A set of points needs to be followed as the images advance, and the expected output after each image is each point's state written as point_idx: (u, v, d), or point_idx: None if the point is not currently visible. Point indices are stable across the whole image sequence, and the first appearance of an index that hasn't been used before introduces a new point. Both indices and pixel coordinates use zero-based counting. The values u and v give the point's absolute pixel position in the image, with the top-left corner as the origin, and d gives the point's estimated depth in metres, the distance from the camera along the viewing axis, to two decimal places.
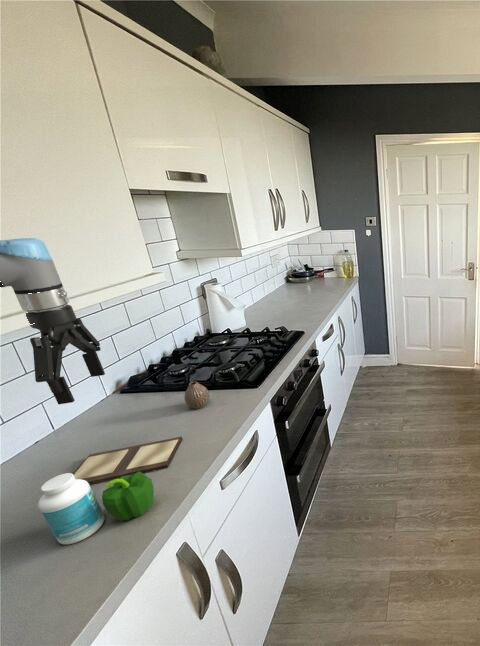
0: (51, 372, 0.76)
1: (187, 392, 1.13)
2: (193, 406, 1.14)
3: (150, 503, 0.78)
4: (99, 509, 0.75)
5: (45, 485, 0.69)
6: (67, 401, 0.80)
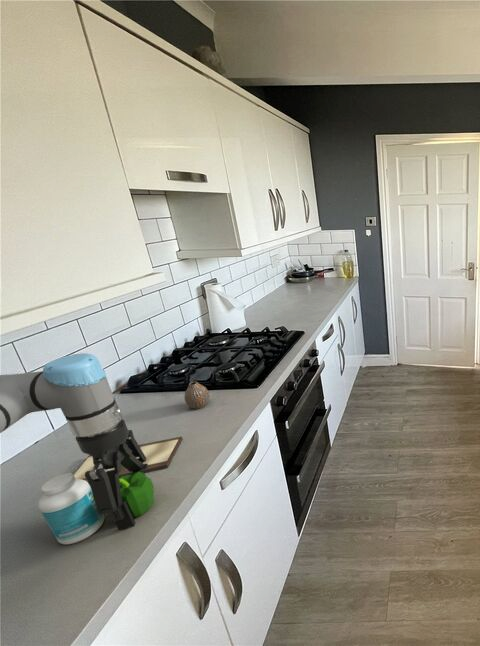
0: (113, 502, 0.70)
1: (187, 392, 1.13)
2: (193, 406, 1.14)
3: (150, 503, 0.78)
4: None
5: (45, 485, 0.69)
6: (128, 525, 0.74)
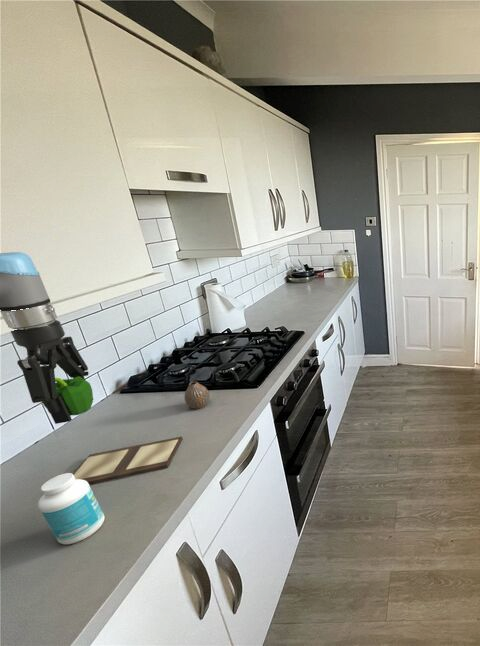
0: (46, 393, 0.75)
1: (187, 392, 1.13)
2: (193, 406, 1.14)
3: (88, 404, 0.84)
4: (99, 509, 0.75)
5: (45, 485, 0.69)
6: (64, 420, 0.80)
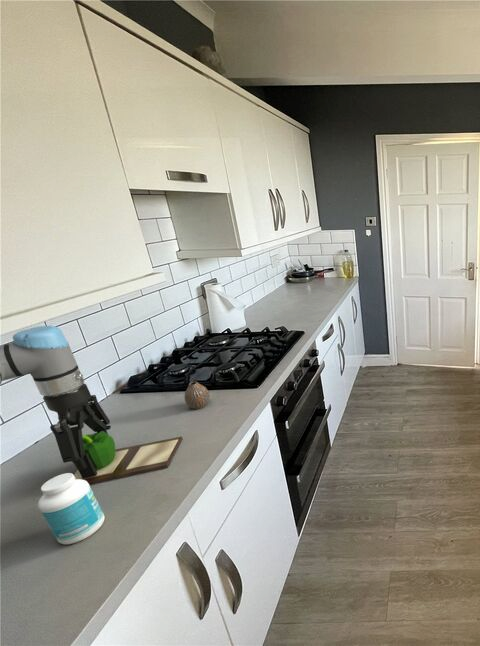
0: (75, 453, 0.82)
1: (187, 392, 1.13)
2: (193, 406, 1.14)
3: (111, 458, 0.91)
4: (99, 509, 0.75)
5: (45, 485, 0.69)
6: (90, 475, 0.87)
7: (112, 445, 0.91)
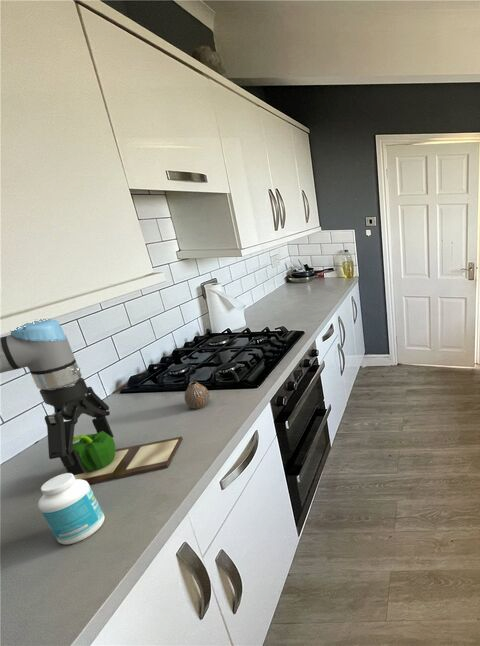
0: (63, 448, 0.79)
1: (187, 392, 1.13)
2: (193, 406, 1.14)
3: (111, 458, 0.91)
4: (99, 509, 0.75)
5: (45, 485, 0.69)
6: (78, 472, 0.83)
7: (112, 445, 0.91)
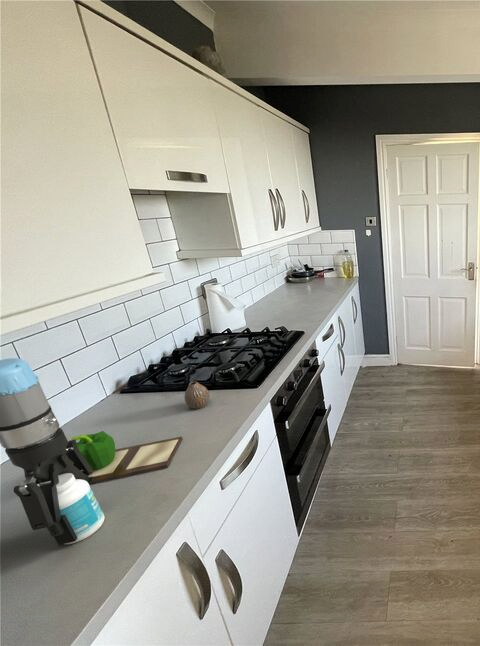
0: (48, 518, 0.65)
1: (187, 392, 1.13)
2: (193, 406, 1.14)
3: (111, 458, 0.91)
4: (99, 509, 0.75)
5: None
6: (69, 541, 0.70)
7: (112, 445, 0.91)
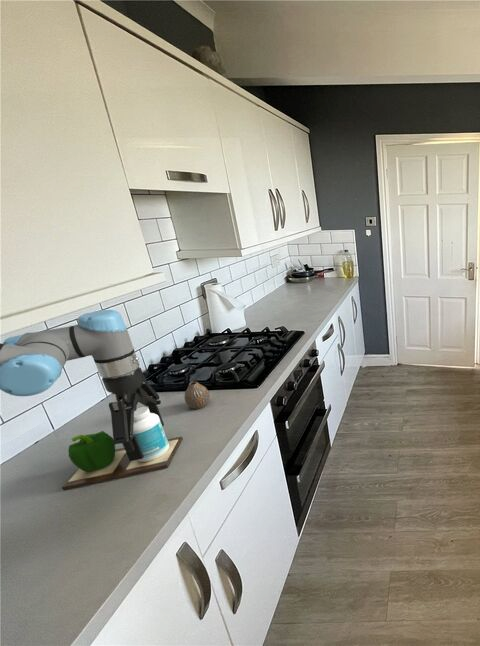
0: (126, 434, 0.82)
1: (187, 392, 1.13)
2: (193, 406, 1.14)
3: (111, 458, 0.91)
4: (166, 437, 0.95)
5: None
6: (138, 458, 0.87)
7: (112, 445, 0.91)
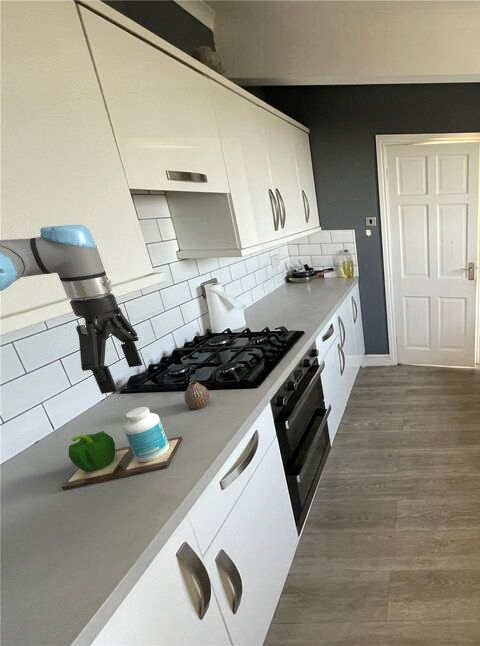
0: (96, 360, 0.75)
1: (187, 392, 1.13)
2: (193, 406, 1.14)
3: (111, 458, 0.91)
4: (166, 437, 0.95)
5: (128, 414, 0.89)
6: (110, 390, 0.80)
7: (112, 445, 0.91)
